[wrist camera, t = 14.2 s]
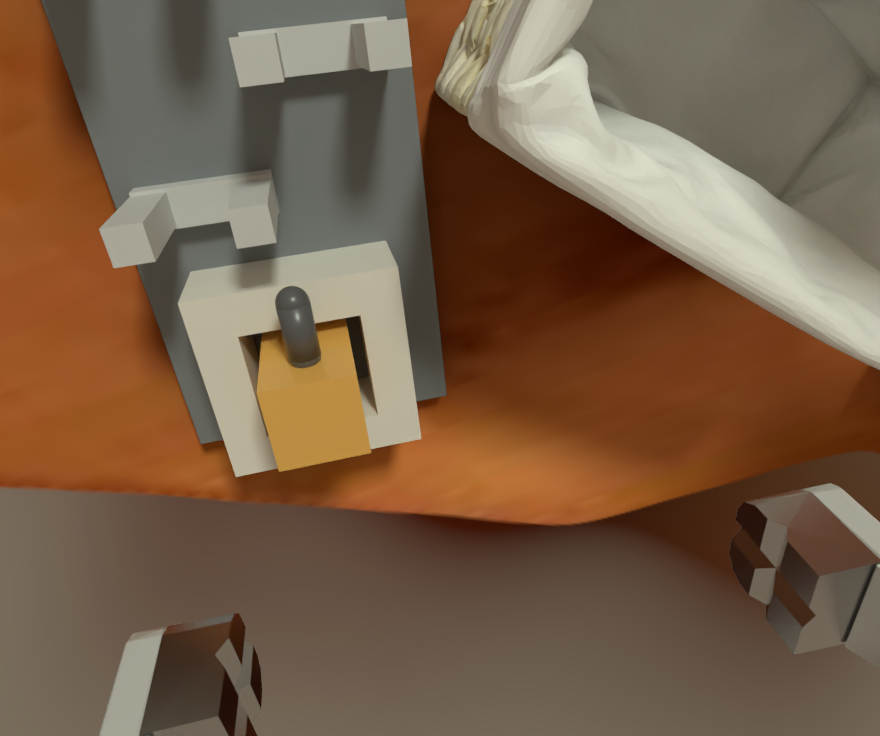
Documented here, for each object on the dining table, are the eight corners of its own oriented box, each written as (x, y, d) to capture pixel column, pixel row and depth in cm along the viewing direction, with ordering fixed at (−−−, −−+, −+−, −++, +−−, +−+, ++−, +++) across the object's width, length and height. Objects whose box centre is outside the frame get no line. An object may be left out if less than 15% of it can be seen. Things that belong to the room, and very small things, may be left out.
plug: (330, 236, 30) (342, 297, 23) (354, 367, 34) (371, 452, 27) (247, 249, 29) (234, 315, 23) (281, 380, 33) (279, 472, 26)
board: (350, -447, 21) (377, -662, 14) (441, 382, 37) (473, 456, 31) (-104, -446, 19) (-308, -694, 12) (204, 428, 35) (185, 517, 29)
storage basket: (389, 91, 29) (467, 138, 16) (577, -315, 24) (908, -713, 11) (728, 287, 38) (943, 412, 26) (917, 28, 33) (1306, 27, 20)
